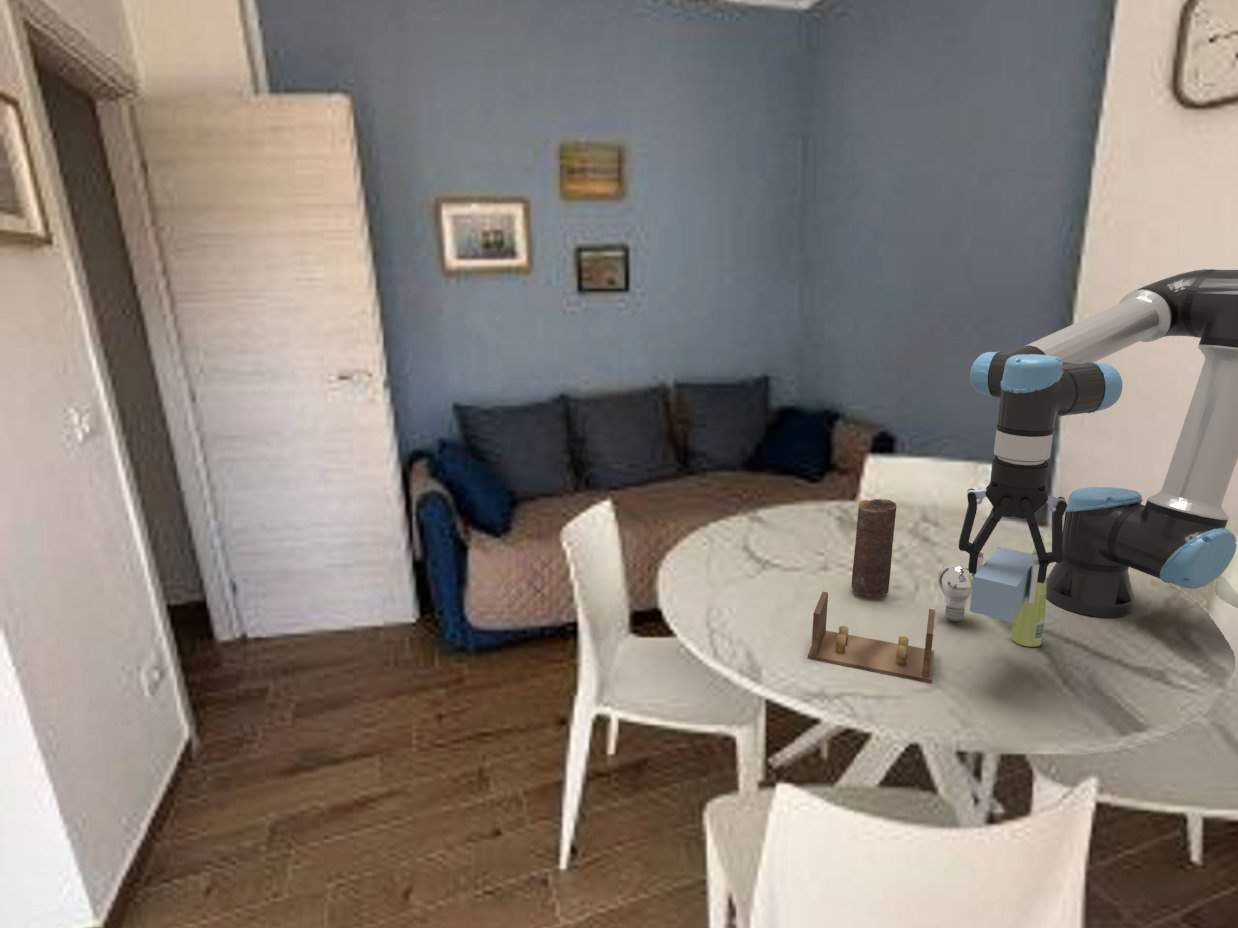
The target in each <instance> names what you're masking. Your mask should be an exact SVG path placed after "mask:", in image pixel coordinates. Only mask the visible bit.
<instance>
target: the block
mask: <svg viewBox="0 0 1238 928" xmlns="http://www.w3.org/2000/svg"><path fill="white" fill-rule="evenodd" d="M1032 558H1035V559H1038V556H1037V555H1034V554H1032V553H1029V552H1023V551H1020V550H1019V551H1018V550H1014V549H1009V548H1005V547H1000V546H998V547H997V548H996V549H995V550H994V551H993V553H991V555H990V556H989V558H988V559H987V560H986V561H985V562H983V566H982V567H981V568H980V569H979V571H978V572H977V573H976V574H975V575H974V578H973V587H972V596H971V598H970V605H969V606H970V607H969V612H971V613H975V614H977V615H978V614H979V615H983V616H985V617H990V618H992V619H993V618H994V619H996V620H1000V621H1005V622H1008V623H1012V624H1013V620H1014V619H1015V617H1016V616H1017V614H1018V612H1019V611H1020V609H1021V608H1022V606H1023V605H1024V603H1025V602H1026V600H1027V598H1028V597H1027V594H1028V586H1029V579H1030V572H1031V565H1032Z"/></svg>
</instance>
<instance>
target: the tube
mask: <svg viewBox="0 0 1238 928" xmlns="http://www.w3.org/2000/svg"><path fill="white" fill-rule="evenodd" d="M1041 537H1042V541H1043V544H1044V547H1045V548H1046V545H1045V544H1046V543H1045V540H1044V534H1043V533H1042V534H1041ZM1031 554H1034V555H1037V552H1036V549H1035V547H1033V550H1032V552H1031ZM1046 579H1047V578H1046ZM1046 579H1045V582H1044V583H1038V582H1037V585H1036V592H1035V599H1034V604H1033V603H1028V598H1027V600H1026V602H1025V603H1024V605H1023V606H1022V608H1021V609H1020V611H1019V612H1018V614H1017V616H1016V617H1015V619H1014V620H1013V622H1012V627H1011V632H1010V633H1011V634H1010V638H1011V640H1012V641H1013V642H1015V643H1016V644H1018V645H1020V646H1024V647H1032V648H1033V647H1039V646H1041V645H1042V643H1043V637H1044V636H1043V634H1044V625H1045V616H1046V605H1047V604H1046V603H1047V601H1046V600H1047V598H1046Z"/></svg>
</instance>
